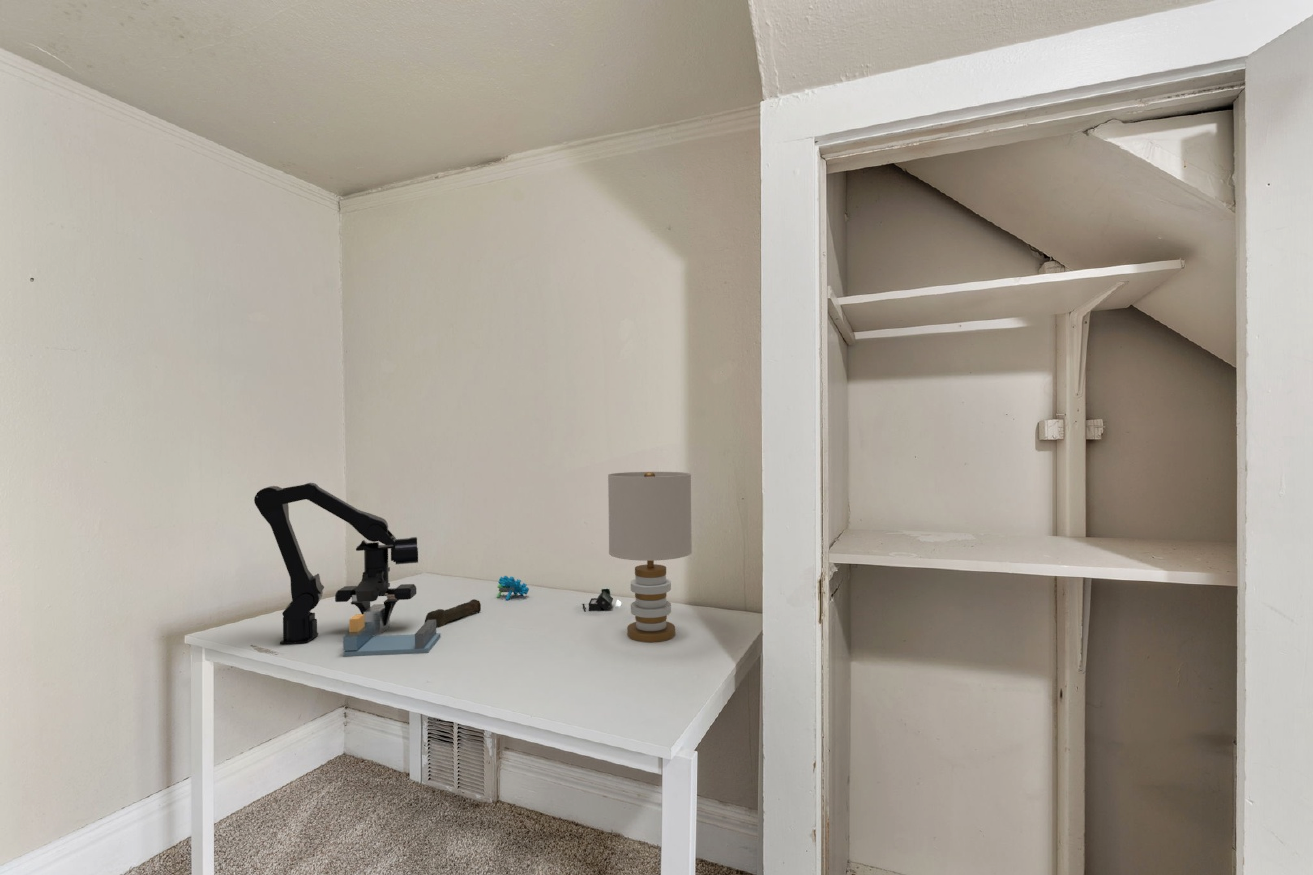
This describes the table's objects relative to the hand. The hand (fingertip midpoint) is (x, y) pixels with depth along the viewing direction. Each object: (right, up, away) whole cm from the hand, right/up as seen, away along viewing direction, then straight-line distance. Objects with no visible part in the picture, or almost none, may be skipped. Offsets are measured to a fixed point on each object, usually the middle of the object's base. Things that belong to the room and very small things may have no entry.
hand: (377, 625), depth 158 cm
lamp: (+72, -1, -5) cm, 72 cm away
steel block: (0, -1, 0) cm, 1 cm away
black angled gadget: (+56, -1, +19) cm, 59 cm away
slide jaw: (+2, 0, -13) cm, 13 cm away
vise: (+10, -1, -12) cm, 16 cm away
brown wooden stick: (+17, -2, +8) cm, 19 cm away
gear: (+28, -1, +32) cm, 42 cm away
